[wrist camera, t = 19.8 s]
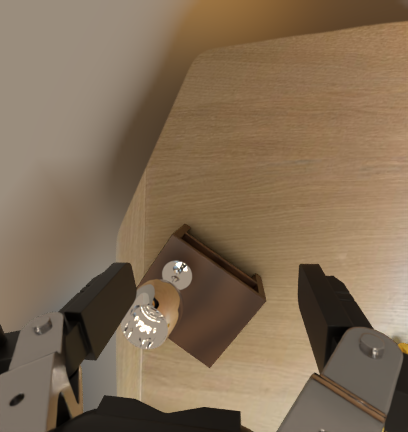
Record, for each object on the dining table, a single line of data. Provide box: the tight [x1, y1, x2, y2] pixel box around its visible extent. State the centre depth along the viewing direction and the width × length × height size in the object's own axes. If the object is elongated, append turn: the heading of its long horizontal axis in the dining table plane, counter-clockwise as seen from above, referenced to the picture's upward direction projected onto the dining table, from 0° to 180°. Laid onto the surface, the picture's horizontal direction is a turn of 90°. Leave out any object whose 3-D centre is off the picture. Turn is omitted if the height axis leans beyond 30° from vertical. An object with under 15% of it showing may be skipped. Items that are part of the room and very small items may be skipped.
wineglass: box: [121, 260, 192, 349], centre depth 28 cm, size 6×6×12 cm
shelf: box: [136, 224, 266, 368], centre depth 38 cm, size 16×14×8 cm
